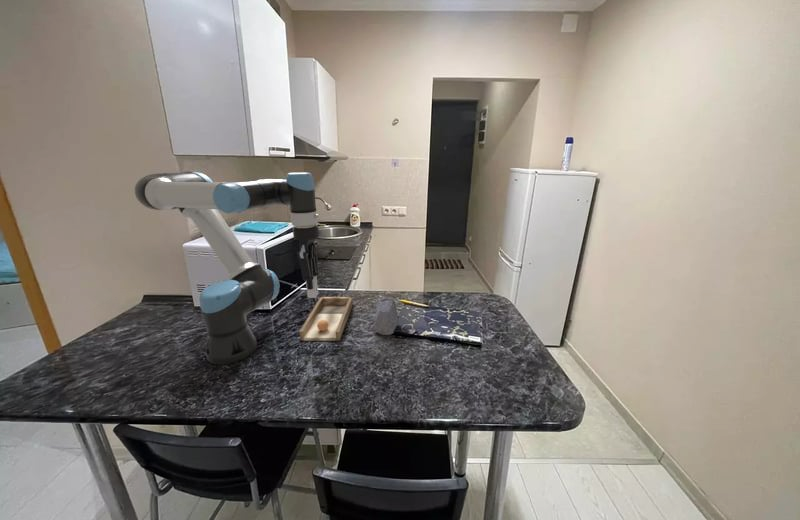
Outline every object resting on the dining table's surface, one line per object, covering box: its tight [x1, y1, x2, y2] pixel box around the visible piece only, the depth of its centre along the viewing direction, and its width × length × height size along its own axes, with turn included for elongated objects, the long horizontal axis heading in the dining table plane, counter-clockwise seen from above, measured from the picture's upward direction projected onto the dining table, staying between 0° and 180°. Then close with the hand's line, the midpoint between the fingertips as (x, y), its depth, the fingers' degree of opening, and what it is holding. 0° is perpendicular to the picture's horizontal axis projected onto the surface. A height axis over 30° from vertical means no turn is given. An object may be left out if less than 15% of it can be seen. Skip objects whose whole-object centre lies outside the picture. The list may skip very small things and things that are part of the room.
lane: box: [298, 296, 354, 342], centre depth 121 cm, size 14×28×4 cm, turn 179°
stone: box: [373, 298, 399, 336], centre depth 113 cm, size 12×10×10 cm
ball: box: [317, 320, 328, 331], centre depth 112 cm, size 4×4×4 cm
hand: (313, 295), depth 100 cm, fingers closed
